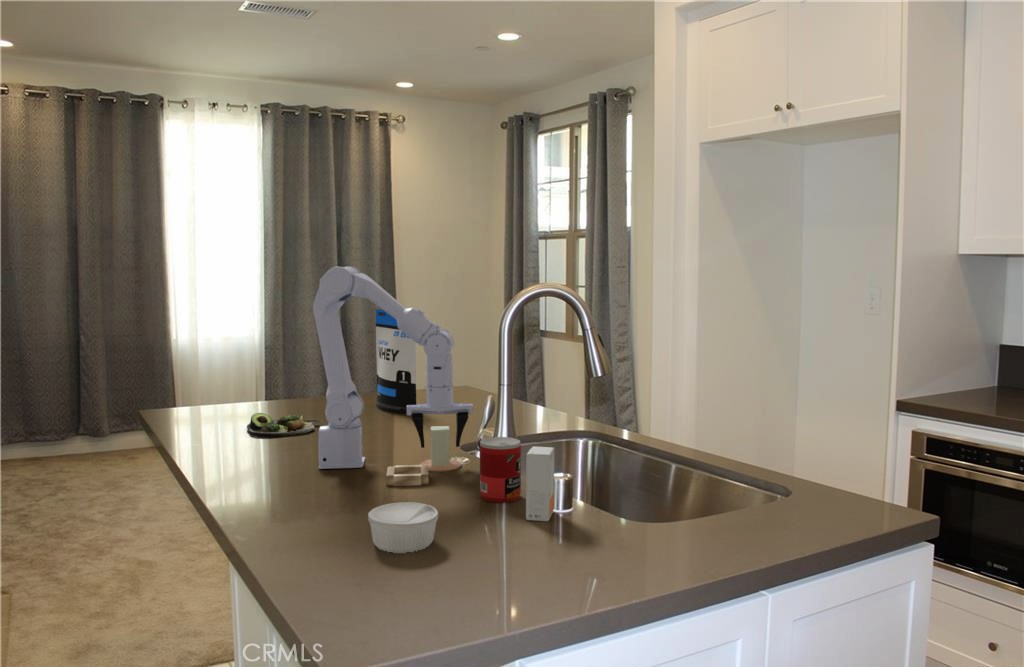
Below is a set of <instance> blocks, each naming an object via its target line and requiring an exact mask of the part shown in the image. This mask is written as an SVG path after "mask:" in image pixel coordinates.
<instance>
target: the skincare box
mask: <svg viewBox="0 0 1024 667" xmlns="http://www.w3.org/2000/svg"><path fill="white" fill-rule="evenodd" d="M525 458H526V460H525V461H526V462H525V463H526V464H525V465H526V466H525V467H526V468H525V469H526V470H525V471H526V472H525V476H526V478H525V480H526V481H525V484H526V485H525V486H526V488H525V520H526V521H537V522H538V521H539V522H549V521H550V518H551V517H552V515H553V513H554V511H553V510H555V509H554V508H555V507H554V505H555V504H554V503H555V501H554V500H555V499H554V497H555V447H551V446H550V447H549V446H546V447H545V446H532V447H531V448H530V449H529V450H528V452H527V453H526V457H525Z"/></svg>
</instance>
